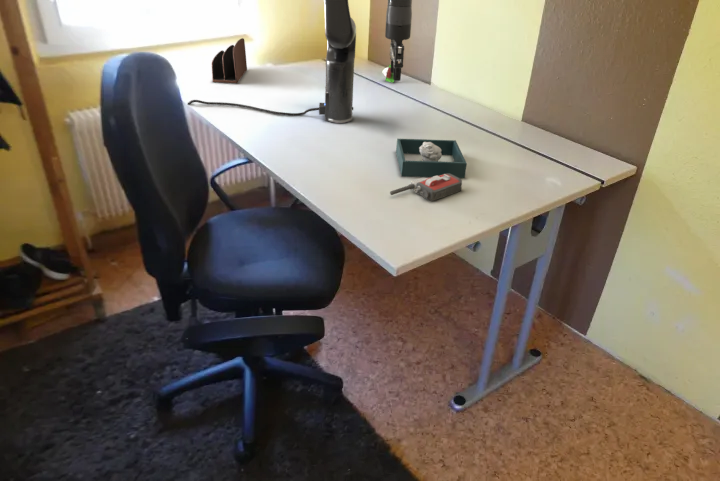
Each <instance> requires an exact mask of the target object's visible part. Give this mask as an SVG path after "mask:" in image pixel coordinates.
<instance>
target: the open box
mask: <svg viewBox="0 0 720 481" xmlns="http://www.w3.org/2000/svg"><path fill="white" fill-rule="evenodd" d="M423 142H432V143H433V144H434V145H436V146H438V147H439V148H440V149H441V150H442V151H441V153H442V154H441V156H451V157H452V160H453V161H441V160H440V161H439V160H438V161H423V160H406V157H405V155H421V154H420V151H419V150H420V149H419V148H420V147H421V145H423ZM395 154H396V158H397V163H398V168H399V172H400V177H404V178H405V177H407V178H408V177H409V178H430V177H431V178H432V177H433V176H436V175H437V176H439V175H442V174H447V173H450V174H452V175H454V176H456V177H458V178H460V179H465V178H466V170H467V165H468V162H467V161H466V159H465V156H464V154H463V153H462V150H461V148H460V146H459V144H458V142H457V140H456V139H455V140H454V139H424V138H423V139H422V138H420V139H419V138H397V140H396V149H395Z"/></svg>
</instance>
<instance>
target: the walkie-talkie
mask: <svg viewBox="0 0 720 481" xmlns="http://www.w3.org/2000/svg"><path fill="white" fill-rule="evenodd" d="M462 185H463V179H462V178H458V177H456V176H454V175H452V174H450V173H447V174H442V175H439V176H437V175H436V176H433V177H420V178H418V179H414V180H411V181H410V184H407V185H405V186H402V187H399V188H396V189H394V190H393V189H392V190H391V191H389V195H390V196H393V195H396V194H400V193H403V192H405V191H408V190H414V193H416V194H418V195H420V196H421V197H423V198H424V199H427V200H428V201H431V202H434V201H437V200H439V199H442V198H445V197H448V196H451V195H453V194H456V193H459V192H460V191H461V192H462Z"/></svg>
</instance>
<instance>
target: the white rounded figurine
mask: <svg viewBox="0 0 720 481" xmlns="http://www.w3.org/2000/svg"><path fill="white" fill-rule="evenodd" d="M419 149H420V150H419V151H420V154H419V155H421V161H439V160H441V158H442V155H441V154H442V153H441V151H442V150H441V149H440V148H439V147H438V146H436V145H434V144H433V143H432V142H423V145H421V147H420V148H419Z"/></svg>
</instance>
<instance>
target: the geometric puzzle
mask: <svg viewBox="0 0 720 481" xmlns="http://www.w3.org/2000/svg"><path fill="white" fill-rule="evenodd" d="M390 69H391V63H390V64H388V66H386V67H384V68H383V70H382V71H381V72H382V75H383V77H385V78H383V79H384V81H385V82H388V83H391V84H394V83H395V81H394V80H393V73H391V71H390Z"/></svg>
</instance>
